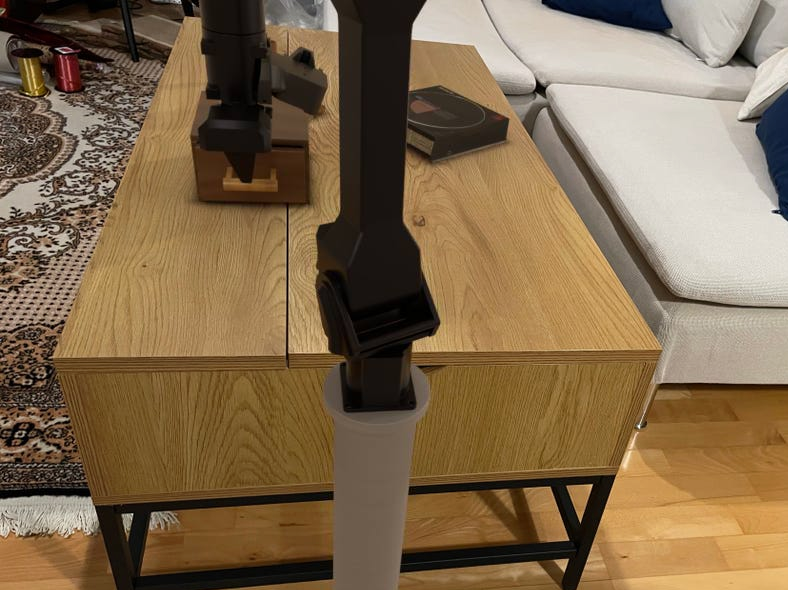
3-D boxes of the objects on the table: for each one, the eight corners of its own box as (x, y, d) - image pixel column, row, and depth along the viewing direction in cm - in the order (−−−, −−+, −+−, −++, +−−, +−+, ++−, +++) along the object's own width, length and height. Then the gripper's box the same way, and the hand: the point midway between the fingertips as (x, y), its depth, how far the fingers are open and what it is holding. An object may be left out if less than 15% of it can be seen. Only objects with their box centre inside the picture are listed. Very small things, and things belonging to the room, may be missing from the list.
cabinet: (310, 204, 91) (309, 140, 86) (198, 201, 88) (189, 134, 82) (307, 156, 102) (306, 96, 96) (208, 152, 98) (201, 90, 93)
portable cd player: (360, 124, 113) (361, 100, 111) (437, 108, 124) (440, 85, 121) (429, 163, 105) (432, 138, 103) (505, 142, 116) (509, 118, 113)
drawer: (306, 221, 86) (305, 169, 81) (197, 219, 83) (190, 164, 78) (303, 157, 99) (302, 110, 95) (210, 153, 96) (205, 104, 92)
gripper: (325, 64, 60) (326, 226, 70) (319, 8, 74) (321, 149, 84) (187, 54, 58) (208, 224, 68) (208, -2, 72) (223, 145, 82)
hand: (246, 181), depth 75 cm, fingers closed
